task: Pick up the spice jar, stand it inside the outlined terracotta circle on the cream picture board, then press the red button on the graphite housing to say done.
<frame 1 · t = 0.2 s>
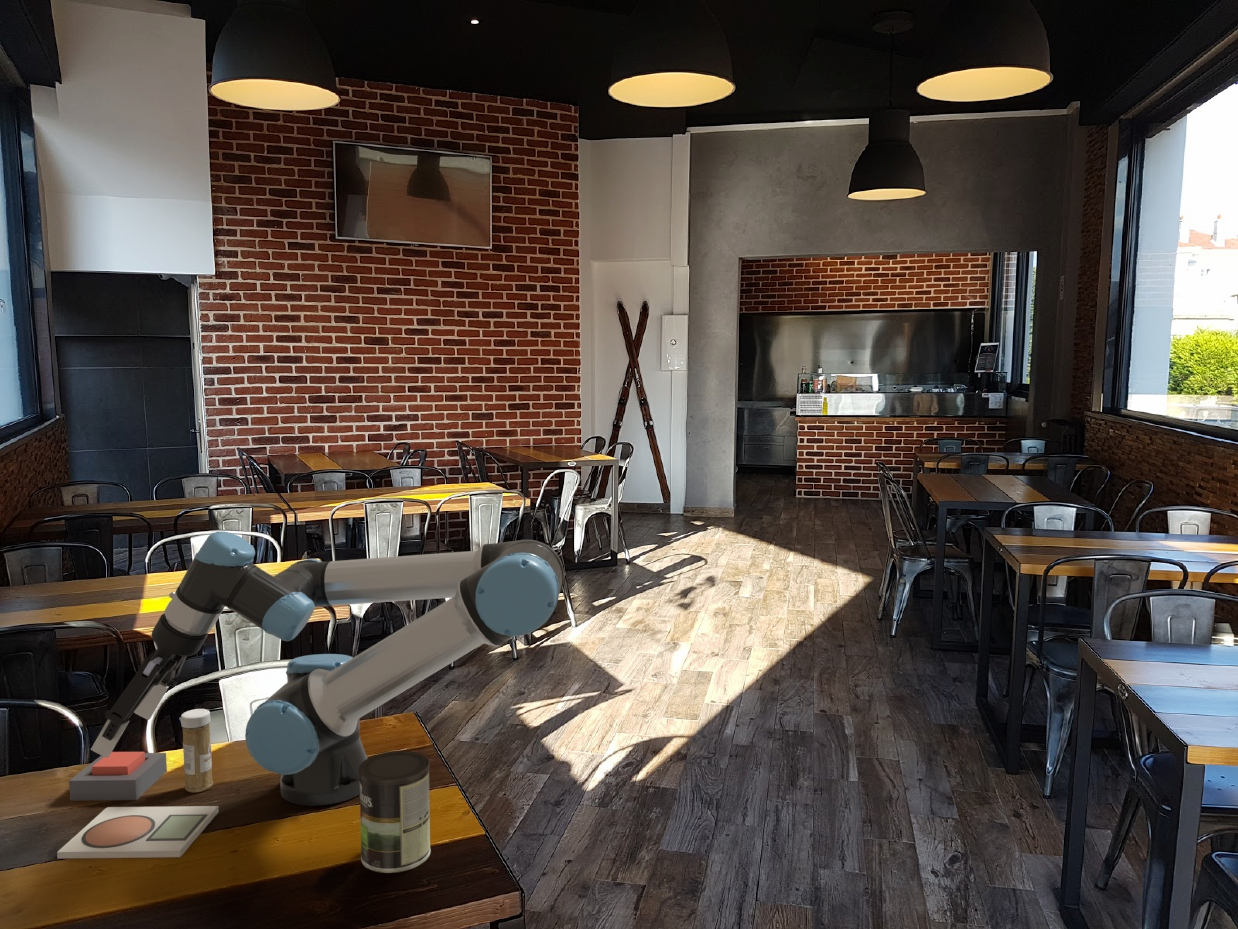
hand: (121, 733, 146), 15 cm above the table, tool tilted 30°, fingers open, 13 cm apart
spice jar: (199, 788, 159), on the table
coffee can: (396, 856, 138), on the table
picture board: (142, 834, 143), on the table
done button: (119, 767, 160), point 3 cm above the table, slide at 0.0 cm
button housing: (120, 785, 160), on the table
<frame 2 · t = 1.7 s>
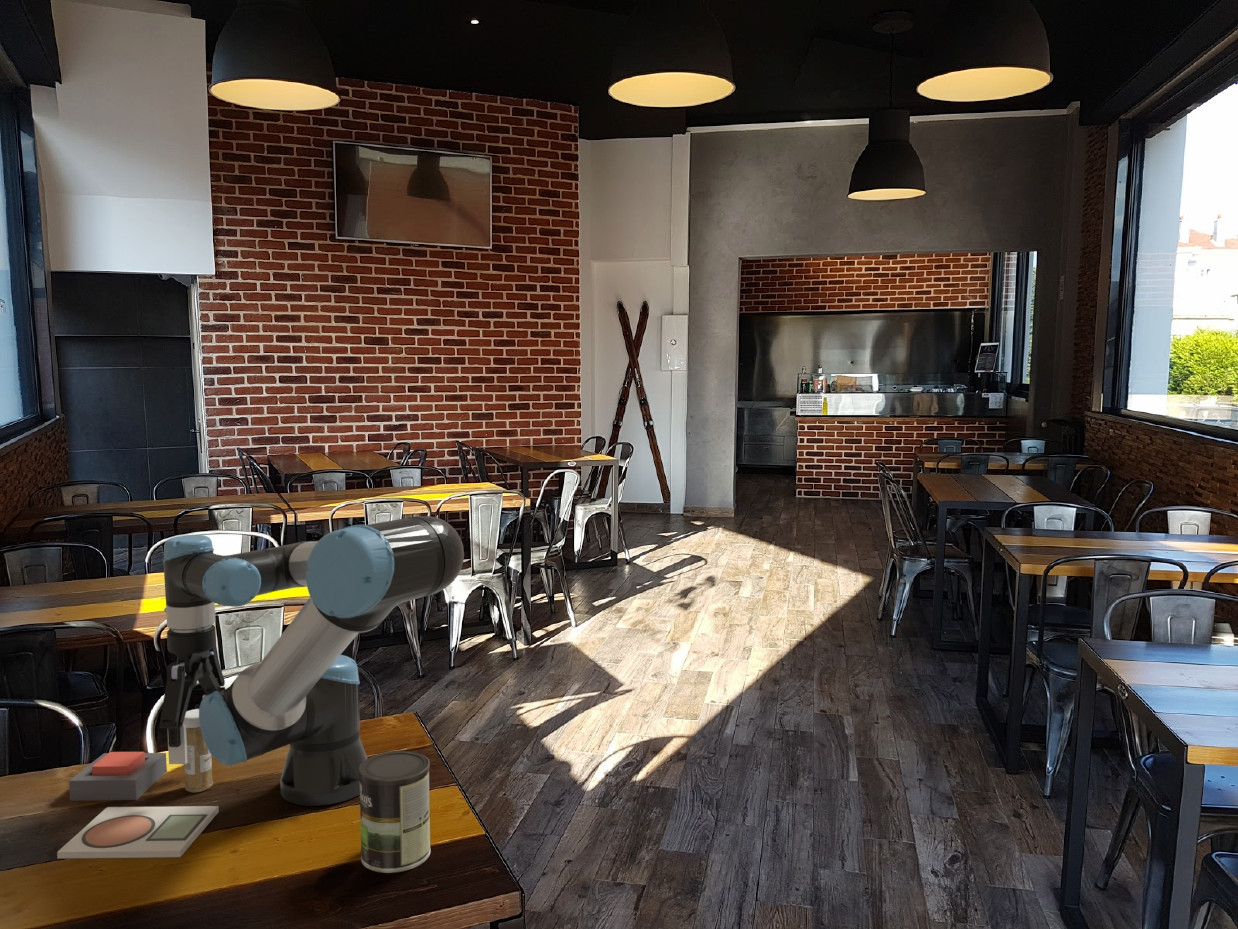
hand: (195, 746, 159), 7 cm above the table, tool pointing down, fingers open, 13 cm apart
nothing on the table moved.
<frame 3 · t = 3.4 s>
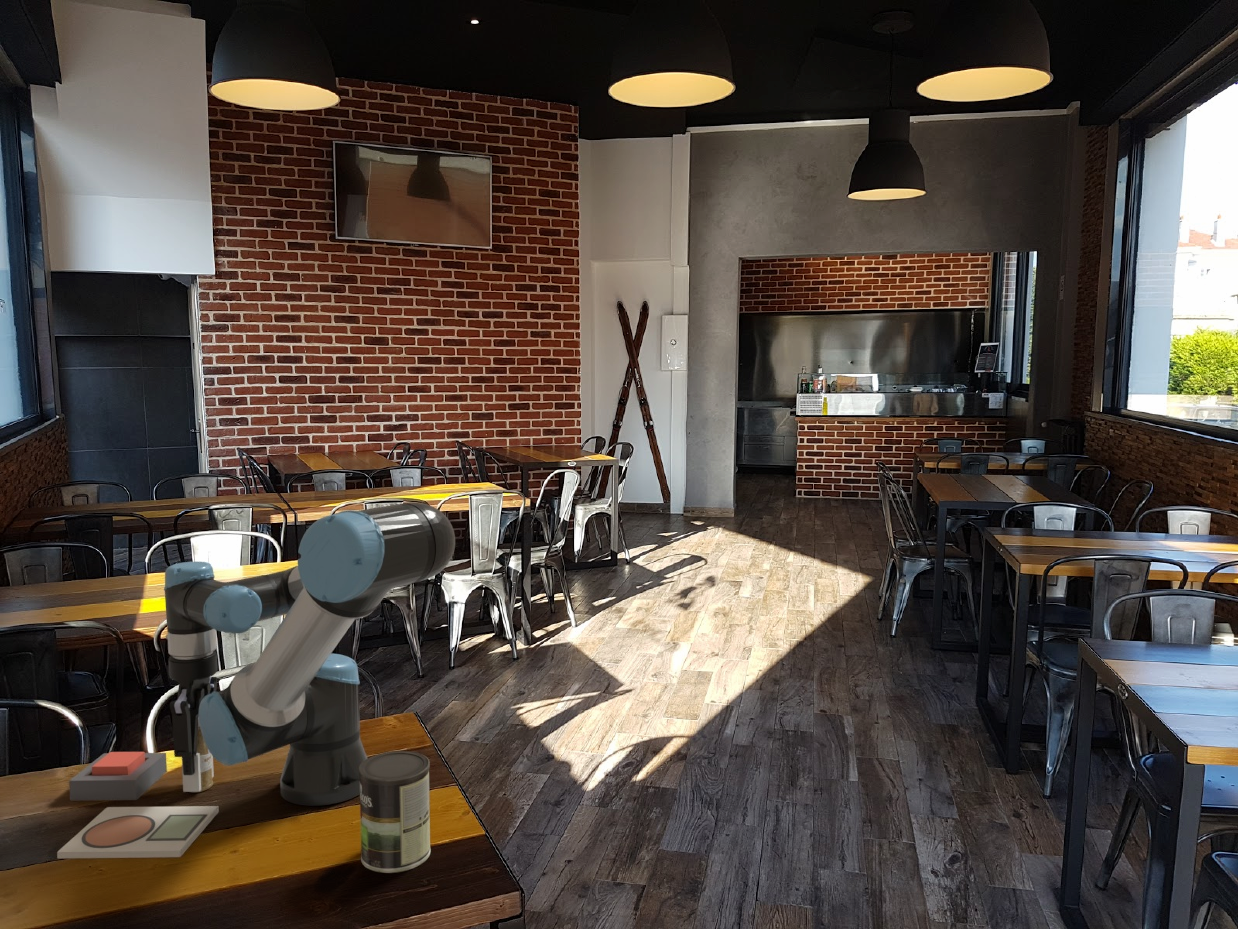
hand: (198, 783, 159), 1 cm above the table, tool pointing down, fingers closed on spice jar, 4 cm apart
spice jar: (199, 788, 159), on the table, touching gripper
everything else where it was.
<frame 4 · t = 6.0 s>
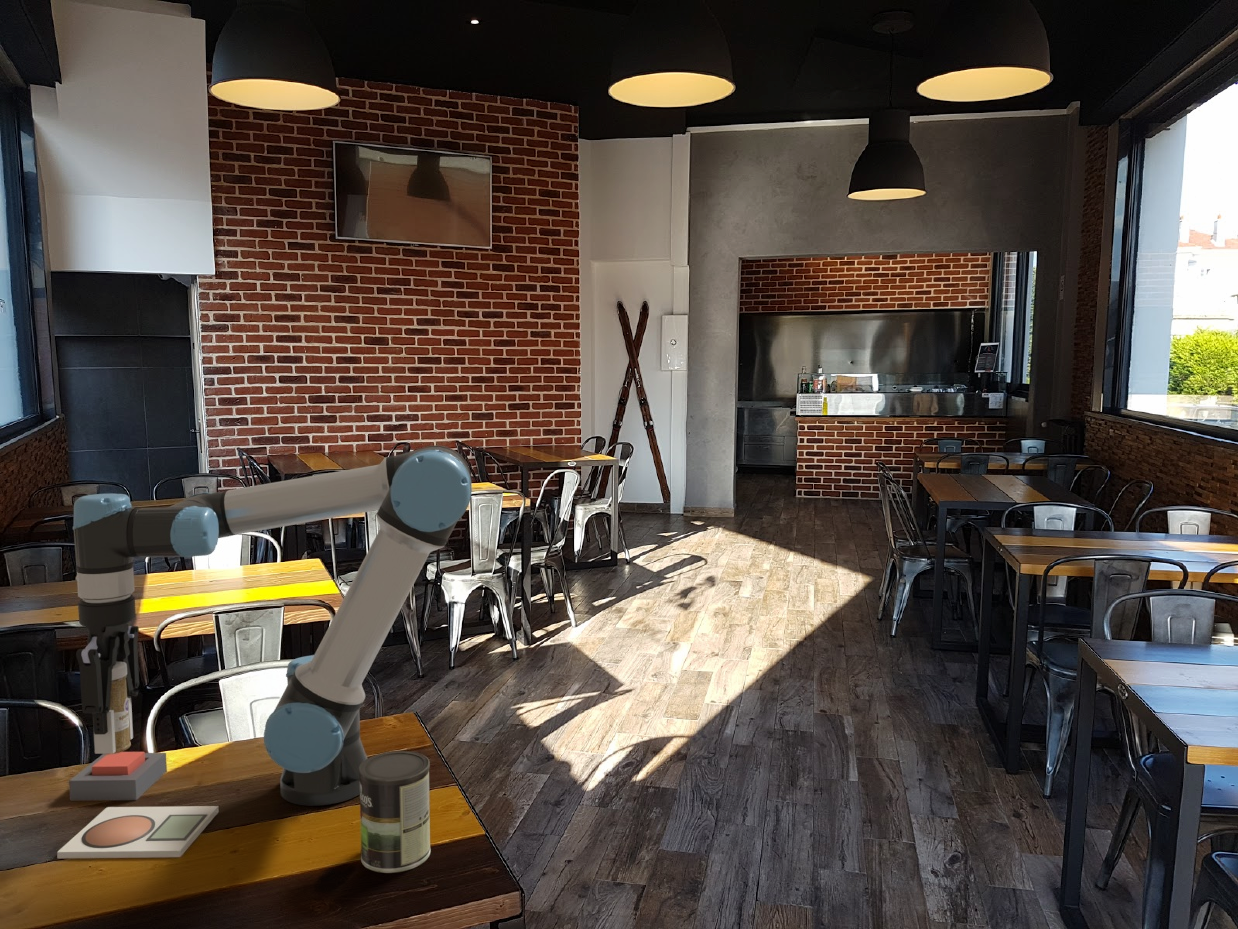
hand: (114, 745, 141), 15 cm above the table, tool pointing down, fingers closed on spice jar, 4 cm apart
spice jar: (114, 750, 141), point 14 cm above the table, touching gripper
everything else where it was.
when the fingers open (3 cm above the table, at t = 8.8 s): spice jar drops 1 cm, resting on picture board.
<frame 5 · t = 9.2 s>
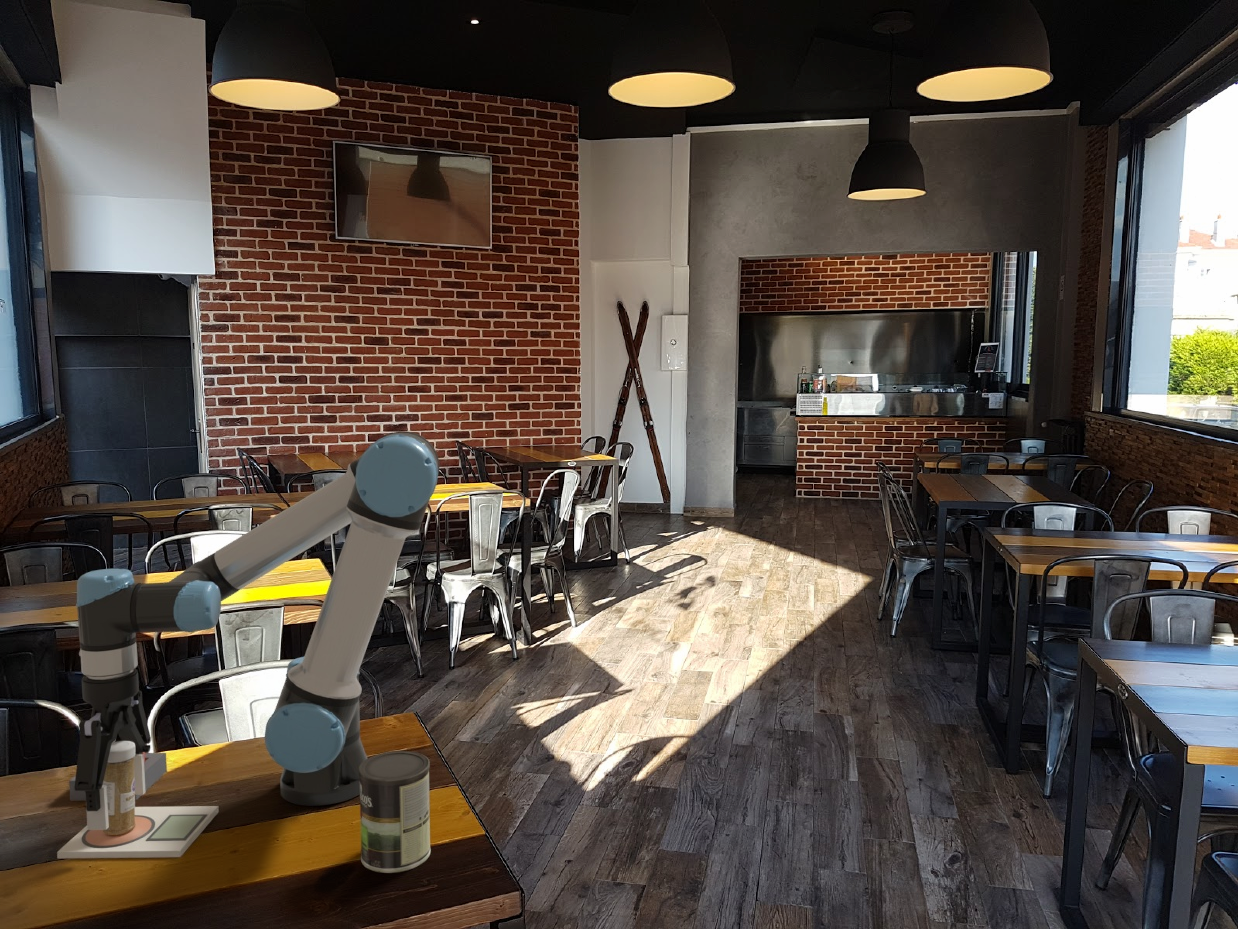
hand: (117, 810, 142), 4 cm above the table, tool pointing down, fingers open, 10 cm apart
spice jar: (119, 830, 142), point 1 cm above the table, touching picture board
everything else where it was.
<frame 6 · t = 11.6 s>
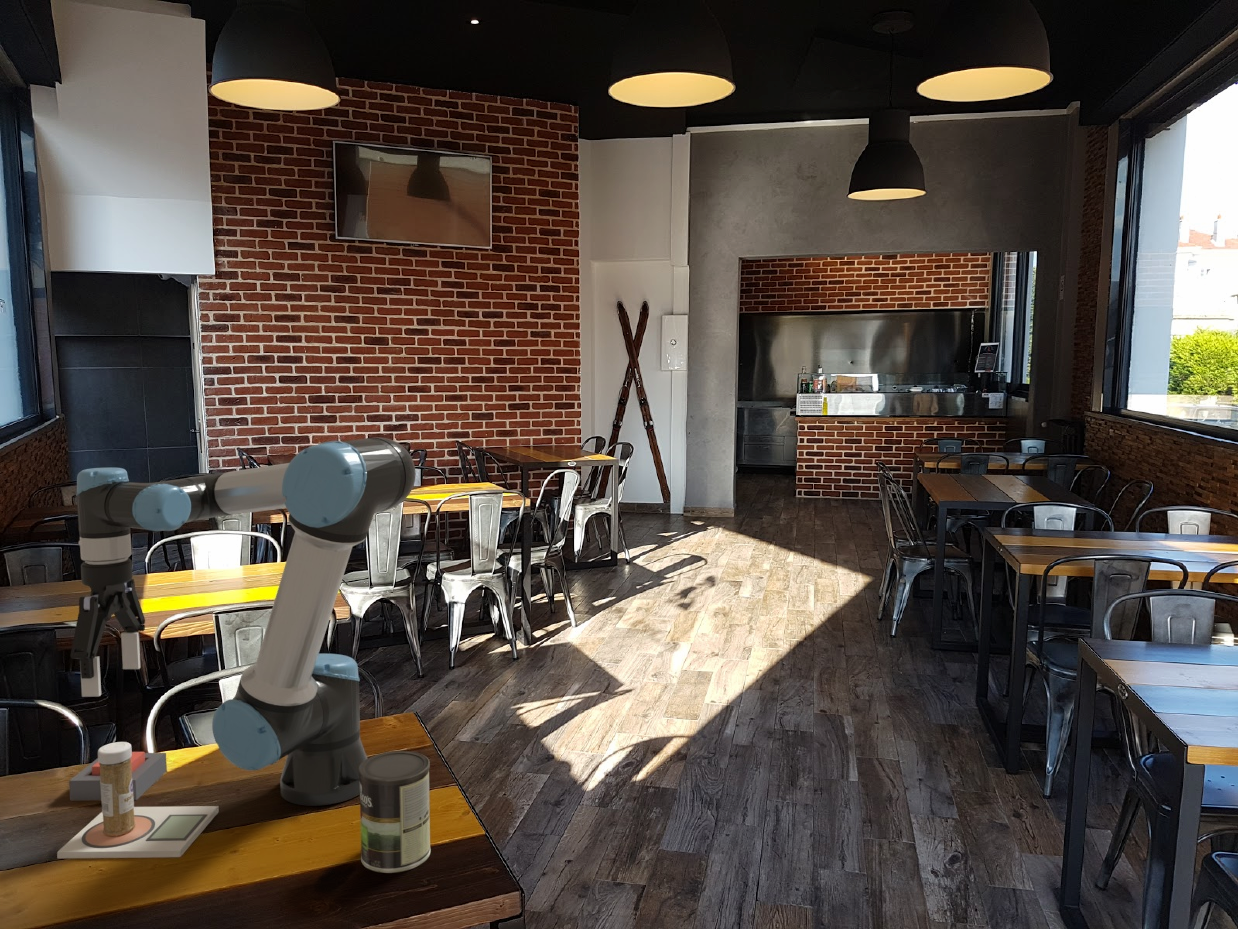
hand: (112, 681, 157), 19 cm above the table, tool pointing down, fingers open, 13 cm apart
nothing on the table moved.
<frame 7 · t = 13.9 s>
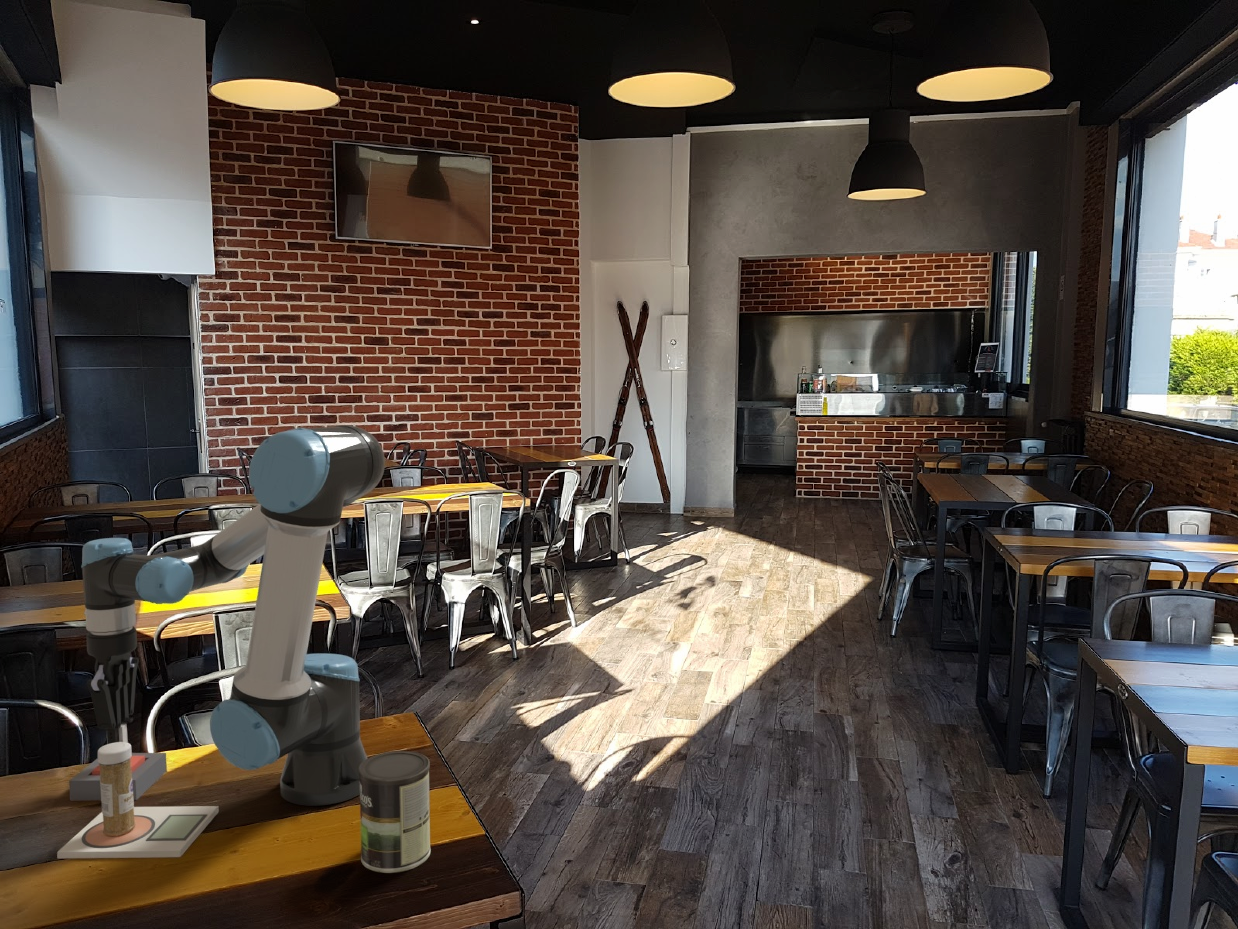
hand: (118, 761, 160), 4 cm above the table, tool pointing down, fingers closed
done button: (119, 771, 160), point 3 cm above the table, slide at 0.7 cm, touching gripper
everything else where it was.
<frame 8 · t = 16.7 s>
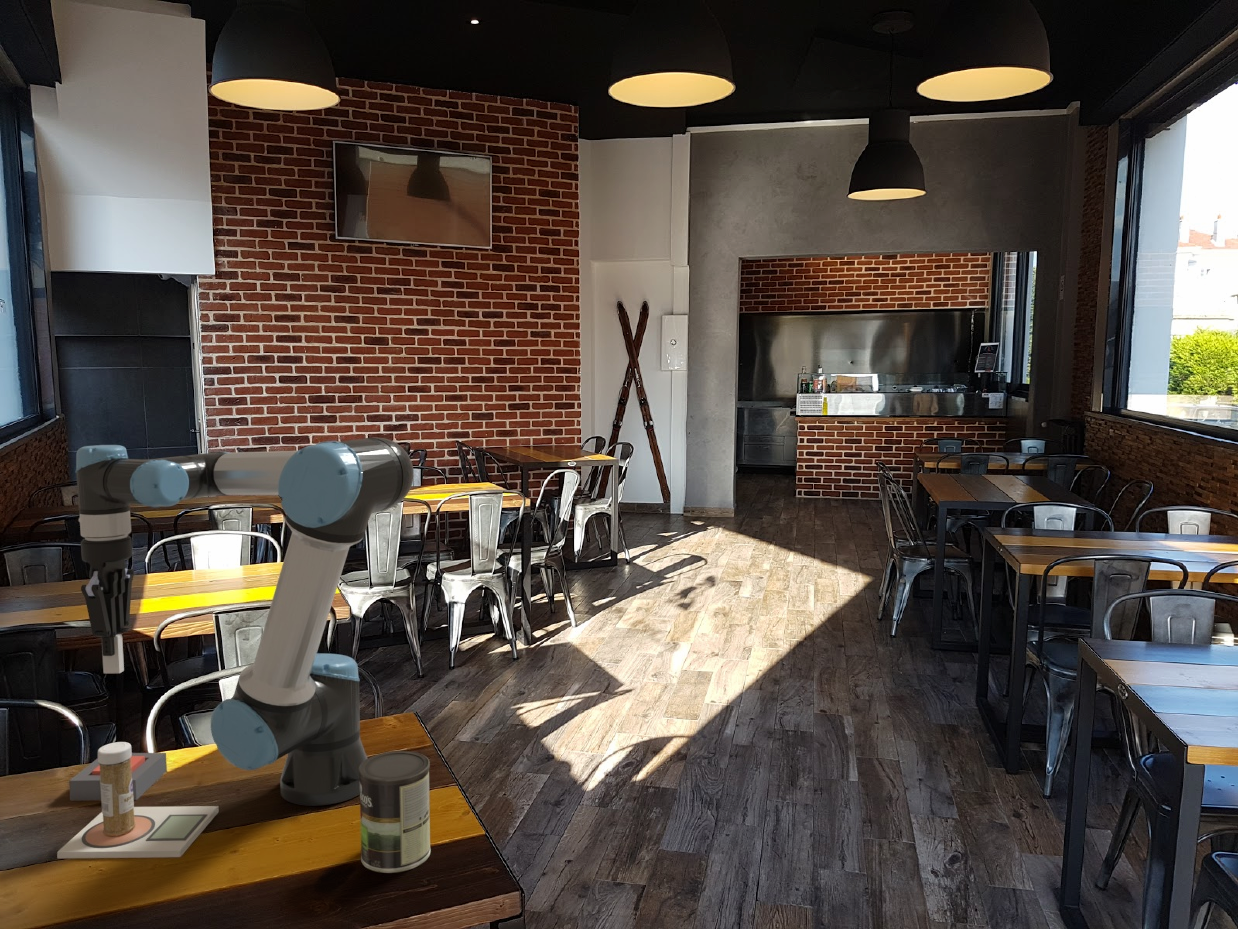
hand: (113, 671, 158), 20 cm above the table, tool pointing down, fingers closed
done button: (119, 771, 160), point 3 cm above the table, slide at 0.8 cm
everything else where it was.
at the end: spice jar 0.1 cm from the target spot, point 0.9 cm above the table; spice jar tilted 0°; done button slide at 0.8 cm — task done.
